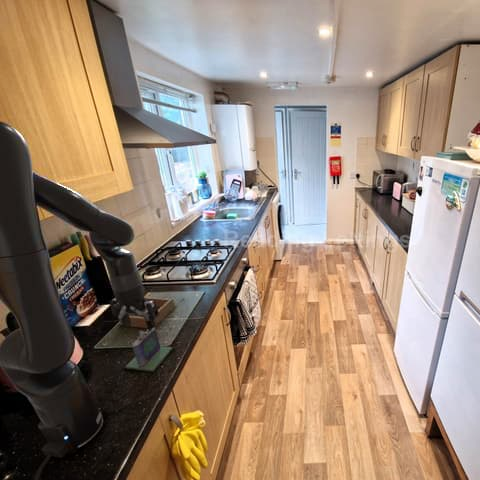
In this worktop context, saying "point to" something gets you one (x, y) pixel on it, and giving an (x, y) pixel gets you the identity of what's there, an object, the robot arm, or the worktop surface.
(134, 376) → the worktop surface
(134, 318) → the brown wooden tray
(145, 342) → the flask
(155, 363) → the mat
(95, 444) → the worktop surface
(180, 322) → the worktop surface
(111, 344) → the worktop surface
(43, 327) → the robot arm
